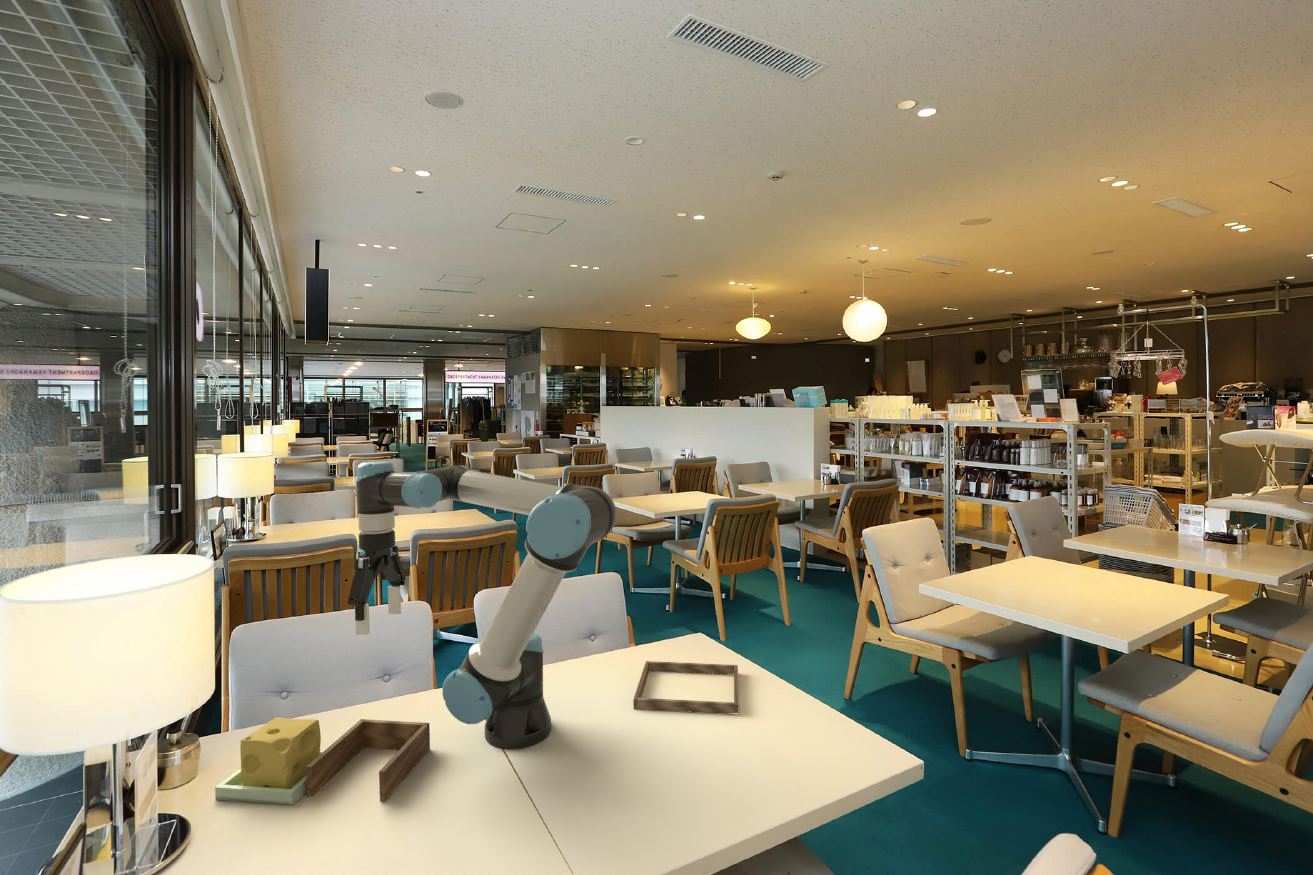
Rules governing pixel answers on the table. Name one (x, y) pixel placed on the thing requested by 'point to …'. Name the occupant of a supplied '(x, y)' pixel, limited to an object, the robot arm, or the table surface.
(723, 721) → the table surface
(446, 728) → the table surface
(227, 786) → the tray
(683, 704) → the frame
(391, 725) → the cubby
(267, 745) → the cheese
